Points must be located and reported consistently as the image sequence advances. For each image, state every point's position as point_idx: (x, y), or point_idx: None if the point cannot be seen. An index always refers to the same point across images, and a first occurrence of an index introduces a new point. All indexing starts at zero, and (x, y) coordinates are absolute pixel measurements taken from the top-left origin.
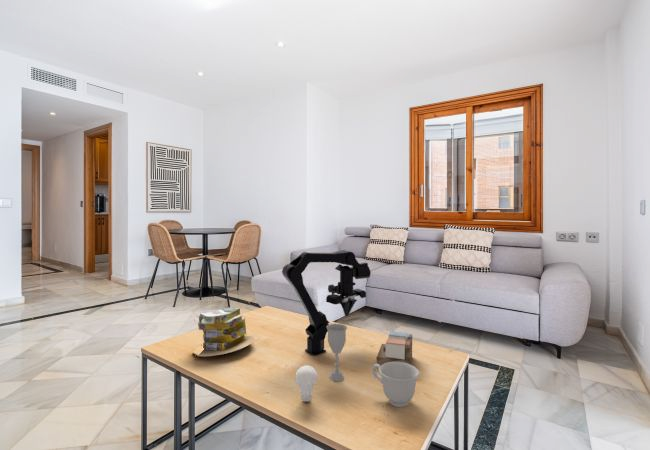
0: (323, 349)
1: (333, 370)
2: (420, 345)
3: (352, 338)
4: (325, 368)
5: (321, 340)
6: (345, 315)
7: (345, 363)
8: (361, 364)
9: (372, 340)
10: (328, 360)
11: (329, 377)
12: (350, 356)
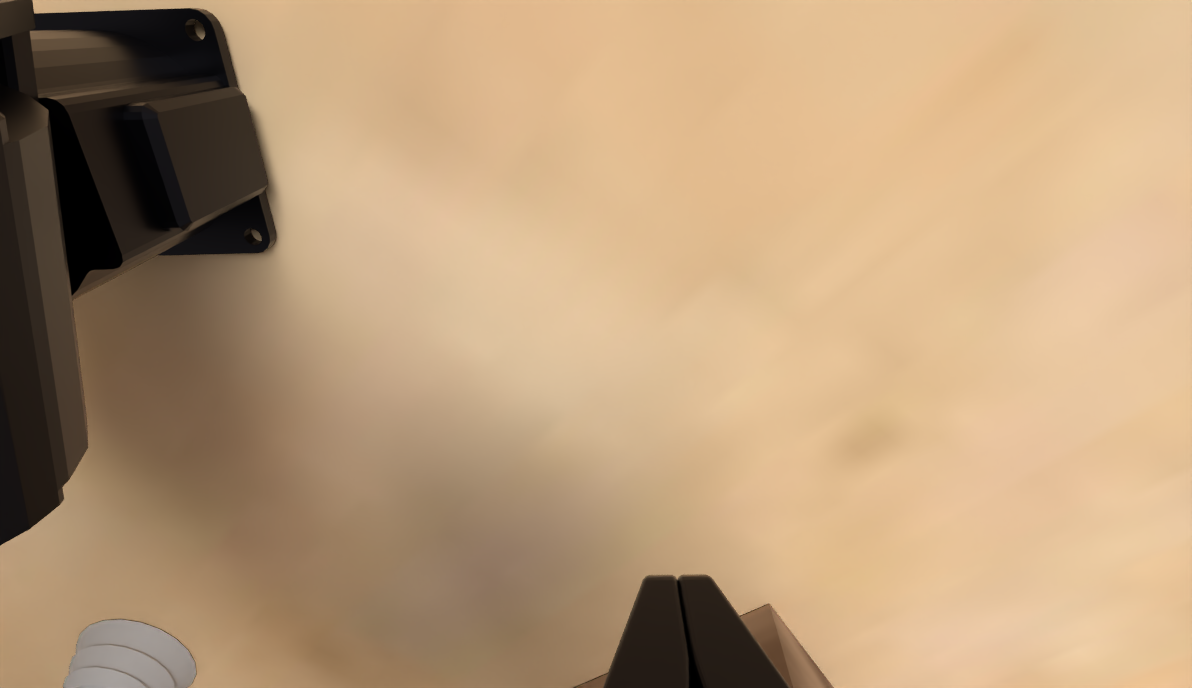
0: (248, 200)
1: (83, 685)
2: (1189, 684)
3: (914, 104)
4: (104, 521)
5: (85, 291)
6: (642, 599)
7: (331, 553)
8: (448, 631)
9: (1030, 343)
10: (203, 424)
11: (80, 633)
12: (467, 486)
